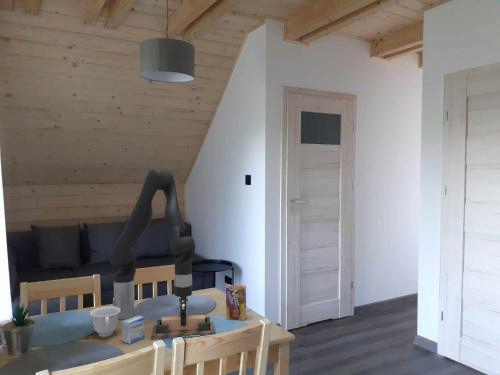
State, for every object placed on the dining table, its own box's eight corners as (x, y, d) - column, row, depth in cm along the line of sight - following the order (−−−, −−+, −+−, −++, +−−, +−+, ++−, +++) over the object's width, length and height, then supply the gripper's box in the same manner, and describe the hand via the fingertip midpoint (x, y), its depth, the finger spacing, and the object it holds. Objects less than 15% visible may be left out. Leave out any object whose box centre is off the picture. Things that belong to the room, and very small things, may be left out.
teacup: (91, 345, 162) (91, 320, 161) (90, 331, 176) (89, 308, 175) (123, 339, 167) (122, 315, 166) (119, 327, 180) (119, 304, 180)
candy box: (246, 317, 192) (246, 285, 192) (244, 320, 188) (244, 287, 187) (228, 315, 194) (228, 284, 193) (225, 319, 190) (225, 286, 189)
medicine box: (130, 344, 162) (129, 323, 162) (122, 342, 165) (122, 320, 164) (144, 337, 169) (144, 316, 169) (137, 335, 171) (137, 314, 171)
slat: (161, 331, 172) (161, 320, 171) (162, 327, 176) (162, 317, 175) (205, 328, 174) (204, 318, 174) (204, 325, 178) (204, 314, 178)
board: (151, 339, 167) (151, 328, 167) (153, 328, 179) (153, 318, 179) (215, 335, 171) (214, 325, 170) (213, 325, 183) (213, 315, 182)
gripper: (174, 279, 180) (175, 318, 181) (173, 289, 166) (173, 330, 167) (192, 279, 181) (192, 317, 182) (192, 288, 167) (192, 329, 168)
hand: (183, 323), depth 175 cm, fingers open, 4 cm apart
